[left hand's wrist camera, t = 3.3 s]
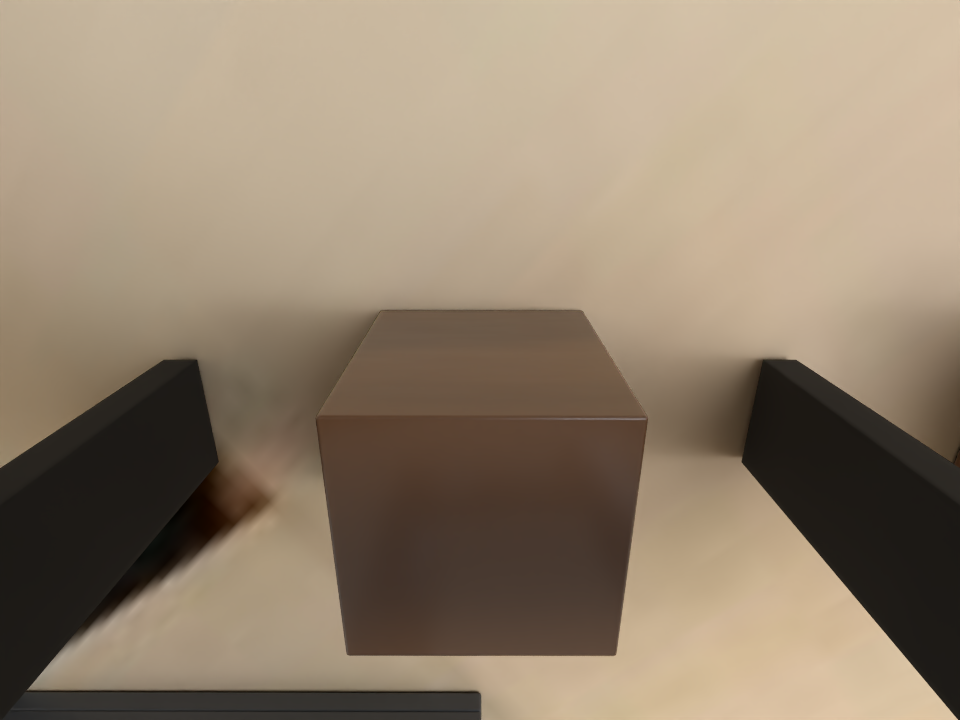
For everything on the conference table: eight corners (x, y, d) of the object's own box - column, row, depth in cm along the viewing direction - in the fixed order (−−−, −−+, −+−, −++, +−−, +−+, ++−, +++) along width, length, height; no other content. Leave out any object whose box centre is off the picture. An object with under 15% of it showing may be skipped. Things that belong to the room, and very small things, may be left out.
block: (379, 309, 12) (314, 416, 7) (582, 309, 12) (650, 417, 7) (392, 480, 13) (345, 656, 9) (570, 480, 13) (616, 657, 9)
